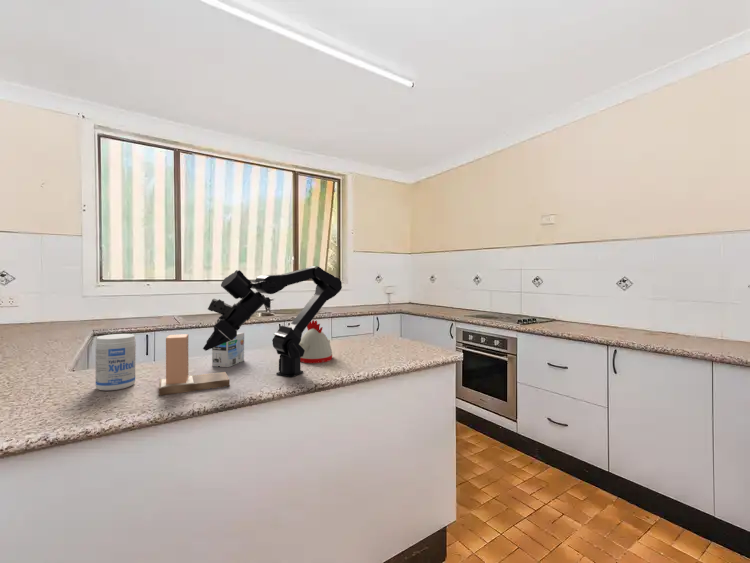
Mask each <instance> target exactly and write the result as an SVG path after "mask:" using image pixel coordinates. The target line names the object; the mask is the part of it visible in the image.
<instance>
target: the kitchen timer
mask: <svg viewBox="0 0 750 563" xmlns="http://www.w3.org/2000/svg"><path fill="white" fill-rule="evenodd" d="M320 325H321V323H318V321H317V320H315V319H312V320H311V322H310V323H309V324H308V326H307V327H306V329H307V331H306V332H305V333H304V334H302V337H301V341H300V343H299V345H300V346H301V347H302V348H303V349H304V350H305V352H304V355H303V356H302V357H301V363H305V364H322V363H327V362H330V361H331V360H333V351H332V347H331V341H330V339H328V336H326V334H325V333H324V332H323V329H324V328H323V326H322V327H321V326H320Z"/></svg>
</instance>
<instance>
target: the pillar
mask: <svg viewBox="0 0 750 563" xmlns="http://www.w3.org/2000/svg"><path fill="white" fill-rule="evenodd" d="M189 373H190V372H189V334H187V333H183V334H181V333H180V334H168V335H167V336H166V337H165V379H166V384H176V383H186V382H187V380H188V378H189V376H190V375H189Z"/></svg>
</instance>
